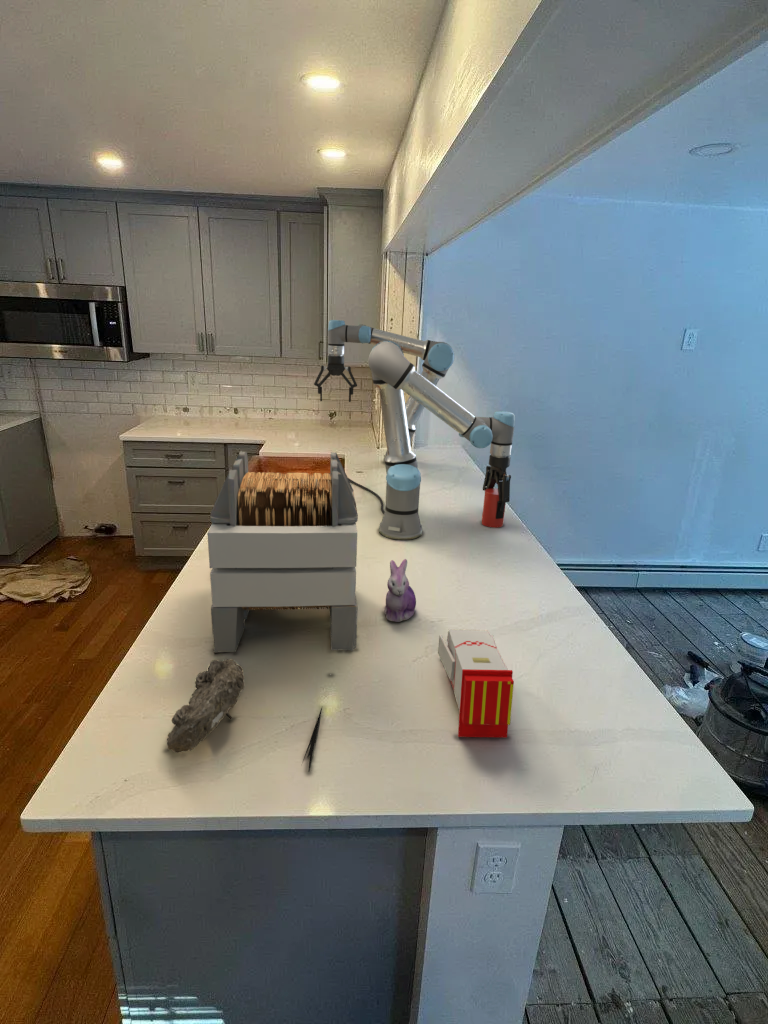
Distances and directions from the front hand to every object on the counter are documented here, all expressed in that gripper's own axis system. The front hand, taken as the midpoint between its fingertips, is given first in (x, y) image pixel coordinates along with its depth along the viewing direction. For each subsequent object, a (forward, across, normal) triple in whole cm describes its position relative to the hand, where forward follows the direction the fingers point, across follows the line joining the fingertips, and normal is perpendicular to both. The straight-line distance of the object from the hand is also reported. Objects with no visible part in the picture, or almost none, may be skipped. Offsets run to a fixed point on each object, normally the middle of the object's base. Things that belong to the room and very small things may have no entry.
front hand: (493, 514), depth 212 cm
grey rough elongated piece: (+4, -80, +106) cm, 133 cm away
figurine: (+4, -54, +58) cm, 79 cm away
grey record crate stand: (+4, -47, +86) cm, 97 cm away
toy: (+4, -87, +55) cm, 103 cm away
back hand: (-28, +90, +38) cm, 101 cm away
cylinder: (+4, 0, 0) cm, 4 cm away
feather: (+4, -87, +87) cm, 123 cm away
